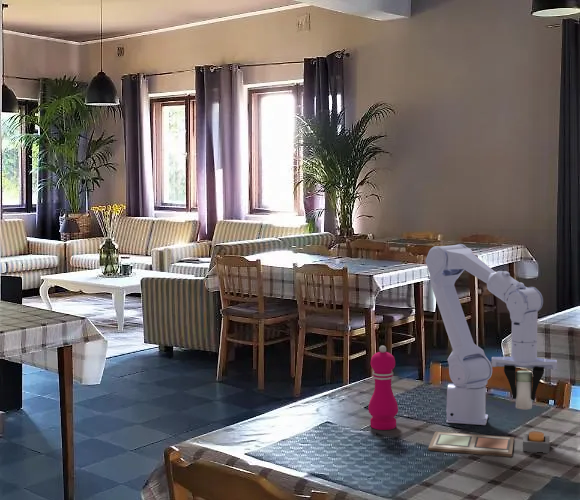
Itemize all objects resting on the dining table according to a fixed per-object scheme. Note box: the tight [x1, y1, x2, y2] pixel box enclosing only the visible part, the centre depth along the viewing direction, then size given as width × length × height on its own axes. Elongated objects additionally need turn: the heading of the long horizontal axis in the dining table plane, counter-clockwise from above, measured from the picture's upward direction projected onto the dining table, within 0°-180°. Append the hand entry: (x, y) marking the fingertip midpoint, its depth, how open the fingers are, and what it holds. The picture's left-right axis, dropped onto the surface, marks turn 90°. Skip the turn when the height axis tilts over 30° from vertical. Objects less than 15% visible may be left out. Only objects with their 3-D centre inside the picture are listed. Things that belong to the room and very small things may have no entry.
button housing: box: [522, 433, 551, 454], centre depth 191 cm, size 6×6×2 cm
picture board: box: [427, 430, 515, 458], centre depth 194 cm, size 18×12×1 cm, turn 73°
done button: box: [528, 430, 545, 442], centre depth 190 cm, size 3×3×2 cm
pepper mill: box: [368, 345, 399, 431], centre depth 208 cm, size 7×7×20 cm
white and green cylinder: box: [515, 370, 533, 410], centre depth 198 cm, size 4×4×8 cm
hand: (523, 398), depth 198 cm, fingers closed on white and green cylinder, 4 cm apart
